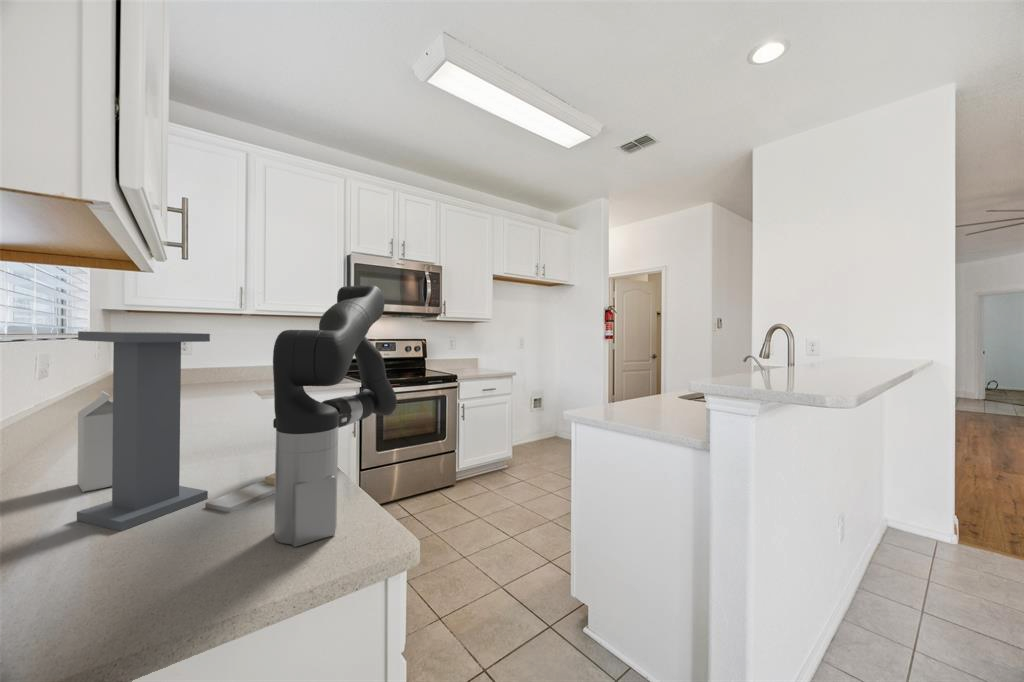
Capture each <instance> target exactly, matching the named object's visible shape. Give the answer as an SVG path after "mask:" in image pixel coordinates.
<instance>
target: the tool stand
mask: <svg viewBox="0 0 1024 682" xmlns="http://www.w3.org/2000/svg"><path fill="white" fill-rule="evenodd" d="M77 341H84V342H85V341H86V342H103V343H105V342H107V343H113V351H112V352H113V355H112V356H113V357H112V358H113V360H112V361H113V362H112V365H113V368H112V369H113V371H112V373H113V375H112V378H113V380H112V401H113V457H112V486H111V490H112V491H111V500H110V501H107V502H103V503H100V504H97V505H94V506H91V507H87V508H85V509H81V510H77V511H76V521H77V522H82V523H86V524H89V525H93V526H98V527H102V528H107V529H110V530H114V531H119V532H123V531H125V530H128V529H131V528H133V527H136V526H139V525H141V524H143V523H146V522H149V521H153V520H154V519H157V518H160V517H162V516H163V517H164V516H165V515H168V514H170V513H174V512H175V511H178V510H180V509H183V508H186V507H189V506H191V505H194V504H197V503H199V502H202V501H205V500H207V499H208V495H209V491H208V490H206V489H199V488H195V487H194V488H193V487H189V486H184V485H183V486H182V485H180V468H181V467H180V465H181V463H180V458H181V457H180V455H181V450H180V449H181V390H182V389H181V388H182V387H181V386H182V385H181V383H182V382H181V377H182V376H181V375H182V374H181V373H182V372H181V371H182V370H181V369H182V343H192V342H193V343H195V342H196V343H197V342H198V343H199V342H201V343H202V342H204V343H205V342H210V341H211V334H210V333H198V332H197V333H196V332H173V331H172V332H168V331H167V332H166V331H165V332H164V331H163V332H162V331H161V332H159V331H155V332H154V331H77Z"/></svg>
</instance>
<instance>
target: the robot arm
mask: <svg viewBox="0 0 1024 682" xmlns="http://www.w3.org/2000/svg"><path fill="white" fill-rule="evenodd" d="M384 310H385V297H384V295H383V292H382V289H380V287H378V286H376V285H373V284H363V285H362V284H361V285H360V284H359V285H349V286H341V287H340V288H339V289H338V290H337V295H336V303H335V304H333V305H331V306H330V307H329V308H328V309H327V310H326V311H325V312H324V313H323V314H322V316H321V318H320V320H319V323H318V329H319V330H318V329H285V330H283V331H281V332H279V334H278V335H277V338H276V339H275V342H274V346H273V352H272V353H273V354H272V373H273V374H272V375H273V390H274V391H273V392H274V394H273V396H274V401H273V402H274V405H273V406H274V419H273V421H272V423H273V424H272V425H273V428H274V429H275V452H274V454H275V456H274V457H275V458H274V459H275V461H274V465H275V466H274V473H275V494H274V528H273V529H274V531H273V532H274V533H273V534H274V535H273V536H274V539H275V540H276V541H277V542H279V543H281V544H287V545H292V546H293V547H295V548H296V547H299V546H302V545H305V544H309V543H312V542H315V541H319V540H322V539H326V538H329V537H332V536H335V535H336V529H337V519H338V517H337V516H338V515H337V513H338V467H339V466H338V465H339V463H338V462H339V460H338V459H339V457H338V456H339V455H338V454H339V429H340V428H343V427H346V426H349V425H352V424H354V423H355V422H359V421H361V420H364V419H367V418H369V417H370V416H371V415H372V414H376V415H380V416H389V415H392V414H393V413H394V412H395V411H396V408H397V404H398V399H397V394H396V392H395V389H394V388H393V386H392V384H391V382H390V381H389V379H388V377H387V371H386V365H385V361H384V357H383V355H382V354H381V352H380V350H379V349H378V348H377V347H376V346H375V344H373V343H372V342H371V341H370V340H369V339H368V338H367V337H366V336H367V334H368V332H369V330H370V328H371V327H372V326H373V325H374V324H375V323H376V322H377V321H379V319H381V318H382V315H383V313H384ZM354 357H355V360H356V364H357V368H358V369H357V370H358V373H359V377H360V378H359V379H360V383H361V384H362V387H364V388H365V389H363V390H362V391H360V392H359V393H357V394H354V395H346V396H340V397H336V398H335V397H334V398H331V399H326V400H325V399H324V400H323V401H319V400H316V399H314V397H313V398H312V396H310V395H309V394H307V392H306V391H305V389H304V387H332V386H336V385H338V384H340V383H342V381H343V380H344V379H345V377H346V375H347V374H348V372H349V369H350V366H351V364H352V361H353V359H354Z"/></svg>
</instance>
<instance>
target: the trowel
mask: <svg viewBox="0 0 1024 682" xmlns="http://www.w3.org/2000/svg"><path fill="white" fill-rule="evenodd" d="M272 494H273V495H275V472H274V473H271V474H270V475H269V474H268V475H266V476H264V480H261V481H258V482H256V483H254V484H251V485H247V486H245V487H243V488H240V489H237V490H235V491H232V492H229V493H227V494H225V495H222V496H219V497H218V498H214V499H211V500H209V501H206V502H205V503H204V504H205V505H204V506H205V508H206V509H210V510H213V511H220V512H224V513H229V514H230V513H233V512H235V511H237V510H239V509H240V510H241V508H244V507H246V506H249V505H251V504H253V503H256V502H258V501H260V500H262V499H266V498H268V497H270V496H272Z"/></svg>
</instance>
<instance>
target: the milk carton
mask: <svg viewBox="0 0 1024 682" xmlns="http://www.w3.org/2000/svg"><path fill="white" fill-rule="evenodd" d="M112 457H113V400H110V394H109V393H107V392H106V391H104V390H102V391H101V396H100V397H98V398H96V399H95V400H94V401H92V402H91V403H90V404H88V405H86V406H85V407H83V408H82V409H80V410H79V411H77V485H78V487H79V488H80V490H81V492H83V493H84V492H89V491H95V490H101V489H104V488H108V487H109V488H110V487H112Z"/></svg>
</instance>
